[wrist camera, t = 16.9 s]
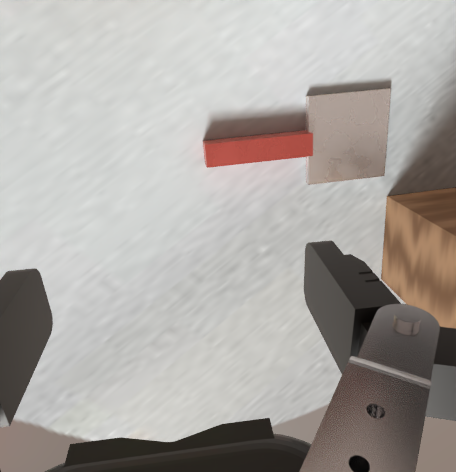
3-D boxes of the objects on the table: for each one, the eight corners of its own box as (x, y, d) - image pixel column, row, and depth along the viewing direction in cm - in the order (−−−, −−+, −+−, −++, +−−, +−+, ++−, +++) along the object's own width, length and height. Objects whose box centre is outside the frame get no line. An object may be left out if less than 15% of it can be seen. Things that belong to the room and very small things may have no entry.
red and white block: (199, 106, 44) (200, 108, 41) (386, 88, 46) (397, 89, 43) (208, 193, 48) (210, 200, 45) (380, 173, 50) (390, 178, 47)
